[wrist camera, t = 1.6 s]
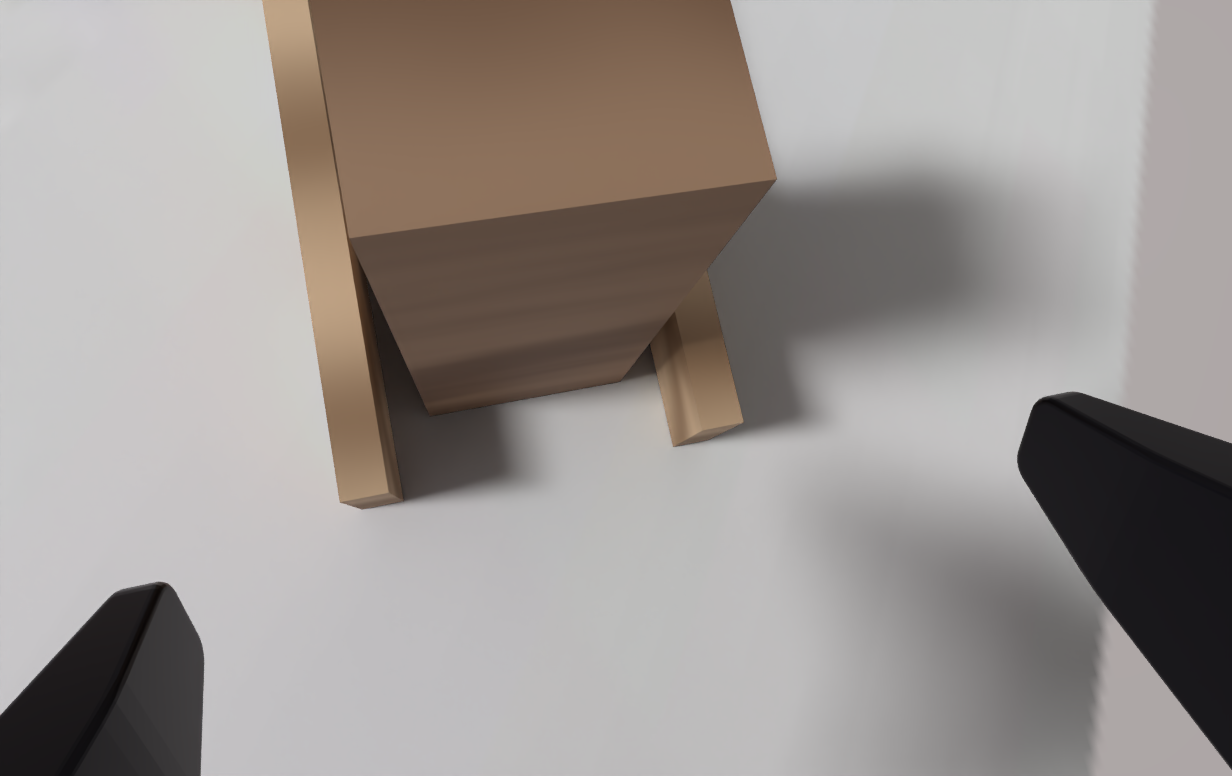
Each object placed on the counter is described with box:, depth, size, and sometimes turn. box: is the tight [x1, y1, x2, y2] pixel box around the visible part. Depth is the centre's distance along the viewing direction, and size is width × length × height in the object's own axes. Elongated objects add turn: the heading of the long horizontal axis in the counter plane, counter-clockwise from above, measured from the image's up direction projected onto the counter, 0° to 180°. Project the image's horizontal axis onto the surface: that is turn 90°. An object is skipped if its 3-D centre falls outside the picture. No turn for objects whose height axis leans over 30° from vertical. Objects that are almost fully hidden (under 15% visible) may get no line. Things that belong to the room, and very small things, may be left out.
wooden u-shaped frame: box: [262, 0, 744, 509], centre depth 20 cm, size 20×9×4 cm, turn 12°
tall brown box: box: [310, 0, 777, 416], centre depth 15 cm, size 5×5×12 cm
